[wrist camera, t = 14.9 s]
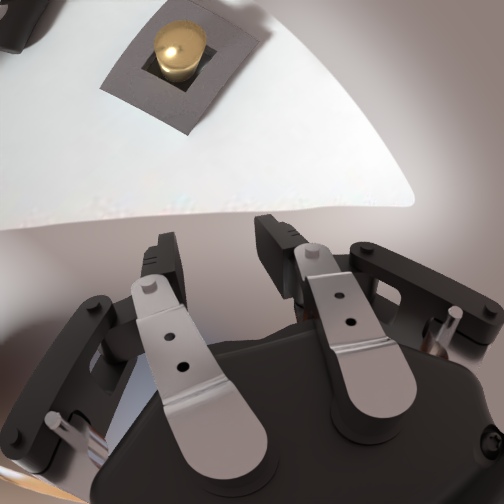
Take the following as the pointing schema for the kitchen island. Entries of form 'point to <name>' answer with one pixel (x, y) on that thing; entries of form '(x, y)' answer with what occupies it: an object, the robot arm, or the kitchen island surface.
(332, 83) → the kitchen island surface
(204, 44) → the gold cylinder
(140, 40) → the jig
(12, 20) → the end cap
